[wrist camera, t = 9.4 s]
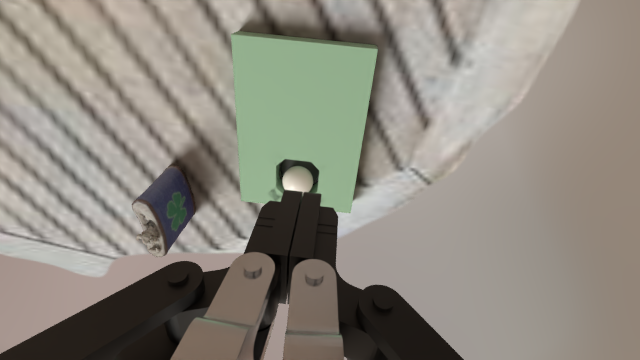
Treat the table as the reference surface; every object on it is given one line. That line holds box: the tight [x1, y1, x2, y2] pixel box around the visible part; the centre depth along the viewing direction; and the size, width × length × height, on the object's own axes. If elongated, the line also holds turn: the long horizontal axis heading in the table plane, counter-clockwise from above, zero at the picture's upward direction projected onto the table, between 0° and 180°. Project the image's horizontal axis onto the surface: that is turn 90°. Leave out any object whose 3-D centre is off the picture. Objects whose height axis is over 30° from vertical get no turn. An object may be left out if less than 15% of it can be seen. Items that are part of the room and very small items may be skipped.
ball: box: [282, 166, 313, 193], centre depth 42 cm, size 4×4×4 cm
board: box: [231, 31, 378, 213], centre depth 39 cm, size 21×15×2 cm
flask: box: [132, 165, 196, 257], centre depth 42 cm, size 9×3×11 cm, turn 1°
